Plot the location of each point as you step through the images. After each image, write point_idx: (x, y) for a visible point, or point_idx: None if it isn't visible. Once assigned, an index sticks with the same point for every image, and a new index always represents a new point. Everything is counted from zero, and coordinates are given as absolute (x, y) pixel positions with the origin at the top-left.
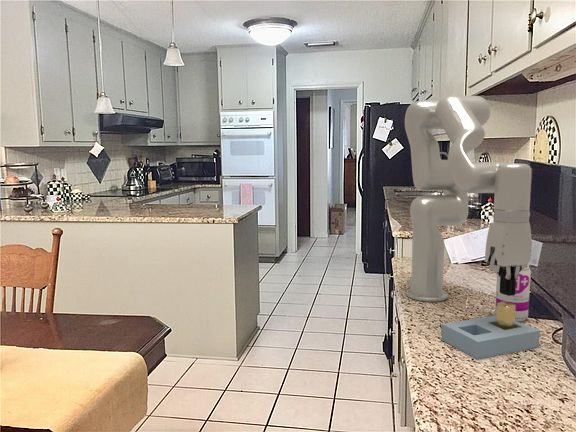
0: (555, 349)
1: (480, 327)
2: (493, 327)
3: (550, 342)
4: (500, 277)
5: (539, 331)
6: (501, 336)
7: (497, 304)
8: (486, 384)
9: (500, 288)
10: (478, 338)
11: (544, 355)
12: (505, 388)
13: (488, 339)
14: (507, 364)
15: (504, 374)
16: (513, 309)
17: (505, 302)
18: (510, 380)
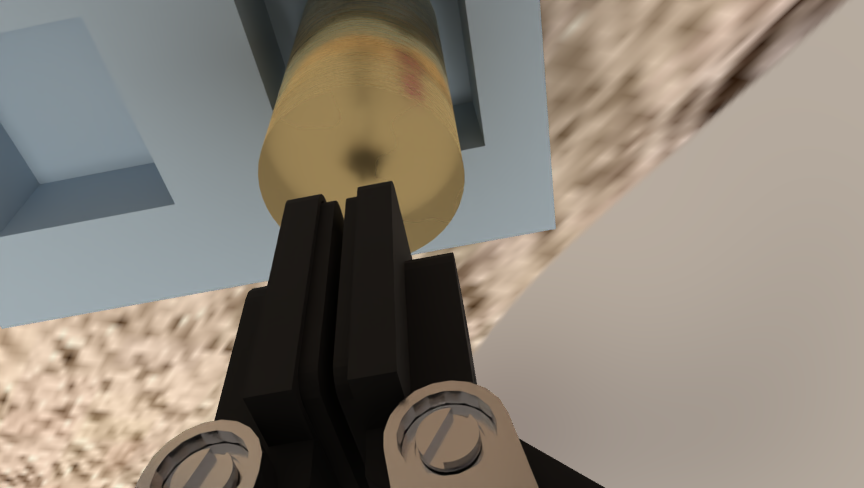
0: (601, 204)
1: (115, 74)
2: (228, 116)
3: (671, 109)
4: (248, 385)
5: (551, 224)
6: (207, 278)
7: (261, 152)
8: (28, 439)
9: (251, 301)
10: (19, 285)
11: (473, 259)
12: (99, 464)
13: (90, 306)
14: (206, 317)
15: (143, 388)
16: None
17: (396, 120)
18: (148, 425)
